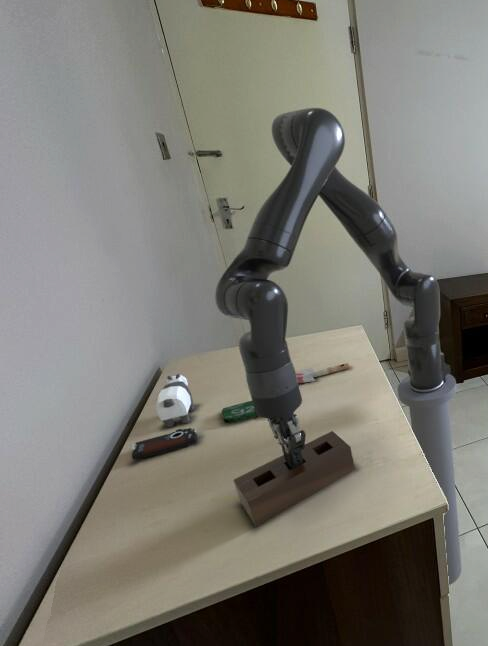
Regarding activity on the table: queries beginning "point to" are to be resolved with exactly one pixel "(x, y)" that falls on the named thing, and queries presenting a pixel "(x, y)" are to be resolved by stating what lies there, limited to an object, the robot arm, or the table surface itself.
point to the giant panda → (175, 401)
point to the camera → (164, 443)
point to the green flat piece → (239, 412)
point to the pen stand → (293, 478)
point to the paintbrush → (318, 373)
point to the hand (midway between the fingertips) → (294, 461)
